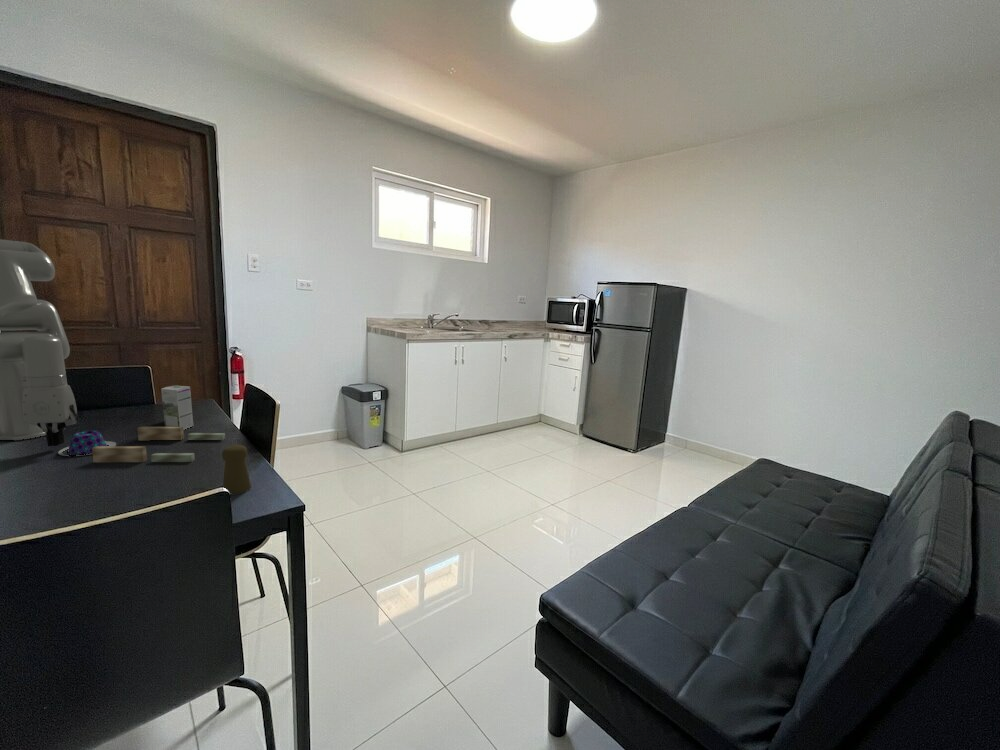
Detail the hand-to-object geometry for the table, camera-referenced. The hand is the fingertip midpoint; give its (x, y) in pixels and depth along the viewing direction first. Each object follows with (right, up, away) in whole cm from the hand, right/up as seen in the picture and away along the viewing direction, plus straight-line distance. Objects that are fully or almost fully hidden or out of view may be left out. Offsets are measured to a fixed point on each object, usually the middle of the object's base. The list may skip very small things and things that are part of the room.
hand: (56, 444), depth 118 cm
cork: (+62, -8, -16) cm, 65 cm away
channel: (+27, -2, +5) cm, 28 cm away
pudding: (+7, -2, +2) cm, 8 cm away
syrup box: (+17, +1, +23) cm, 29 cm away
